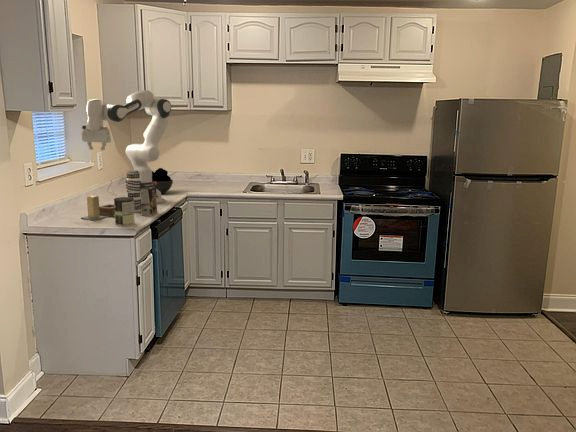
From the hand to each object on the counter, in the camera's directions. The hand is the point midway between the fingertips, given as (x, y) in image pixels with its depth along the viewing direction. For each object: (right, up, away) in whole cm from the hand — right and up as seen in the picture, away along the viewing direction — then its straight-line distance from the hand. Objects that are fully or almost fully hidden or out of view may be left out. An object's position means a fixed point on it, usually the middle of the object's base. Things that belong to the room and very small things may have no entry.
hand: (97, 149), depth 307 cm
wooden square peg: (+4, -41, -15) cm, 44 cm away
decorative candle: (+20, -37, +8) cm, 43 cm away
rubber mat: (+4, -41, -15) cm, 44 cm away
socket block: (+10, -39, -5) cm, 40 cm away
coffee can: (+26, -45, -28) cm, 59 cm away
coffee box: (+32, -39, -3) cm, 51 cm away
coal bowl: (+20, -23, +72) cm, 78 cm away
